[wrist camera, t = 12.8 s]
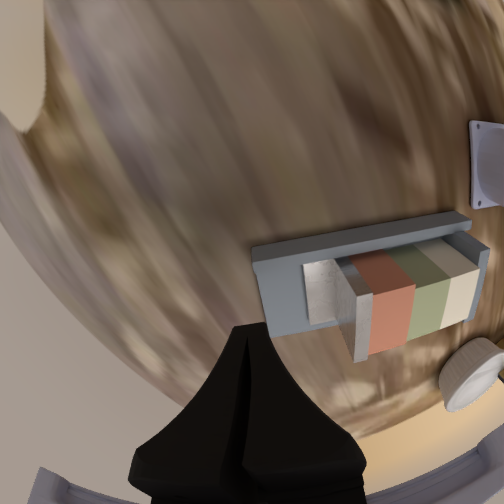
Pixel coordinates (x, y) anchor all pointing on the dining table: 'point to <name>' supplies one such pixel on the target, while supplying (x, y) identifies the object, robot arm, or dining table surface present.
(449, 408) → the ramekin
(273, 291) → the shelf
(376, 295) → the rust book
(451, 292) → the cream book
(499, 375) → the picture frame
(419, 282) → the olive block
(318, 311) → the bookend
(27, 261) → the dining table surface
